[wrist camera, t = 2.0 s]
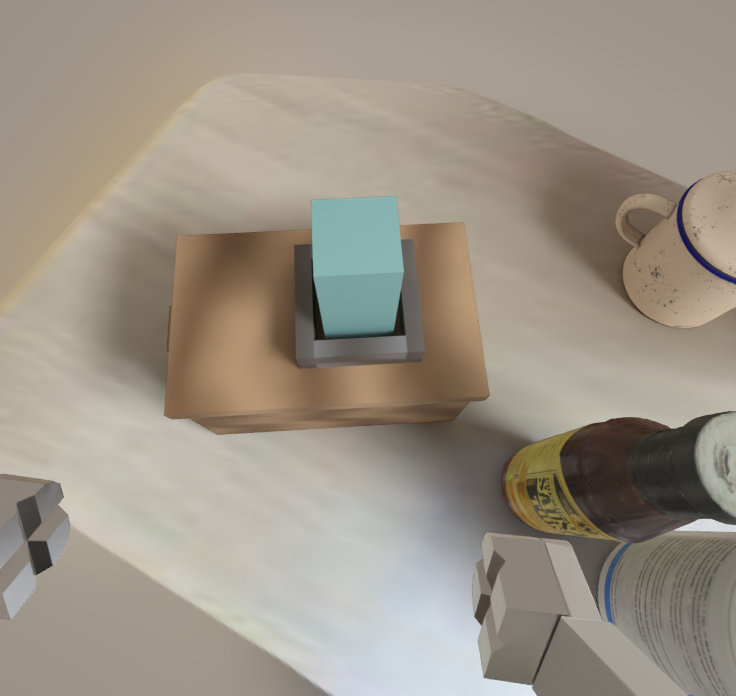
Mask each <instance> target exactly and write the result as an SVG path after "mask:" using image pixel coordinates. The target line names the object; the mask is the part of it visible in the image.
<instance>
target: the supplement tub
mask: <svg viewBox="0 0 736 696" xmlns="http://www.w3.org/2000/svg"><path fill="white" fill-rule="evenodd" d="M598 602H599V609H600V613H601V617H602V620H603V621H606V622H611V623H612V624H614V625H615V626H616V627H617V628H618V629H619V630H620V631H621V632H622V633H623V634H624V635H625V636H626V637H627V638H628V639H629V640H630V641H631V642H632V643H633V644H634V645H636V646H637V647H638V648H639V649H640V650H641V651H642V652H643V653H644V654H645V655H646V656H647V657H648V658H649V659H650V660H651V661H652V662H653V663H654V664H655V665H656V666H657V667H659V668H660V669H661V670H662V671H663V672H664V673H665V674H666V675H667V676H668V677H669V678H670V679H671V680H672V681H673V682H674V683H675V684H676V685H677V686H678V687H679V688H681V689H682V690H683V691H684V692H685V693H686V694H687V695H688V696H736V532H705V531H669V532H667V533H665V534H662V535H660V536H657V537H655V538H653V539H650V540H648V541H645V542H642V543H624V542H621V543H620V544H619V545H618V546H617V547H616V548H615V549H614V550H613V551H612V552H611V553H610V555H609V556H608V558H607V559H606V561H605V563H604V565H603V568H602V571H601V574H600V579H599V585H598Z"/></svg>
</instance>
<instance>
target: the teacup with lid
mask: <svg viewBox="0 0 736 696" xmlns="http://www.w3.org/2000/svg"><path fill="white" fill-rule="evenodd" d="M633 209H648V210H651V211H653V212H656V213H658V214H659V215H661V216H663V217H664V218H663V219H662V220H661V221H660V222H659V223H658V224H657V225H656V226H655V227H654V228H653V229H652V230H651V231H650V232H649V233H648V234H647V235H644V234H642V233H641V232H639V231H637V230H636V229H635V228H634V227H633V226H632V225H631V224H630V222H629V220H628V212H629V211H630V210H633ZM615 224H616V229H617V231H618V233H619V234H620V236H621V237H622V238H623V239H624V240H625V241H627V242H628V243H630V244H631V245H633V246H635V247H634V248H633V249H632V250H631V251H630V252H629V254H628V255H627V257H626V259H625V262H624V266H623V282H624V286H625V289H626V291H627V293H628V295H629V297H630V299H631V300H632V302H633V303H634V304H635V305H636V307H637V308H638V309H639V310H640V311H641V312H643V313H644V314H645V315H646V316H648V317H649V318H651V319H653V320H654V321H656V322H658V323H661V324H663V325H667V326H671V327H676V328H692V327H697V326H700V325H703V324H706V323H708V322H709V321H711V320H713V319H715V318H717V317H718V316H720V315H722V314H724V313H725V312H727V311H729V310H731V309H733V308H734V307H736V171H726V172H720V173H716V174H712V175H710V176H707V177H705V178H703V179H701V180H699V181H698V182H696V183H694V184H693V185H692V186H690V187H689V188H688V189H687V191H686V192H685V193H684V194H683V196H682V198H681V200H680V202H679V203H678V204H675V203H673V202H671V201H669V200H667V199H665V198H663V197H661V196H658V195H654V194H647V193H646V194H636V195H633V196H631V197H629V198H628V199H626V200H625V201H624V202H623V203H622V205H621V206H620V208H619V210H618V212H617V214H616V219H615Z"/></svg>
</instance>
